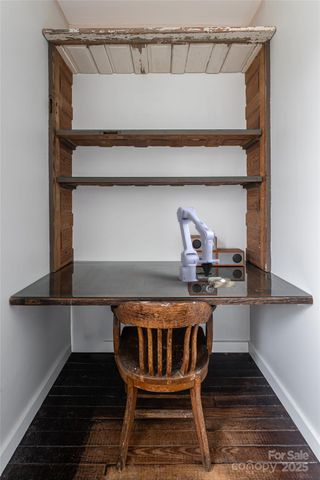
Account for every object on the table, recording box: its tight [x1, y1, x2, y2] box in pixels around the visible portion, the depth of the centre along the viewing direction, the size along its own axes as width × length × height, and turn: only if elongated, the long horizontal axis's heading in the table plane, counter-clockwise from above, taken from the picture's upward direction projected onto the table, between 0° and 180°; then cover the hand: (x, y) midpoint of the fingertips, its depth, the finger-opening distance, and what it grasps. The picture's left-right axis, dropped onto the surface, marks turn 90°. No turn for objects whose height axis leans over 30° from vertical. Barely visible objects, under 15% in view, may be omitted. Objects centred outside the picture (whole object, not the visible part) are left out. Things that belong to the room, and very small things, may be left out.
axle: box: [212, 277, 232, 286], centre depth 175 cm, size 9×4×4 cm, turn 106°
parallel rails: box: [208, 280, 236, 289], centre depth 175 cm, size 12×7×2 cm, turn 106°
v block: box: [207, 276, 225, 283], centre depth 182 cm, size 8×5×2 cm, turn 106°
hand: (206, 276), depth 172 cm, fingers closed
